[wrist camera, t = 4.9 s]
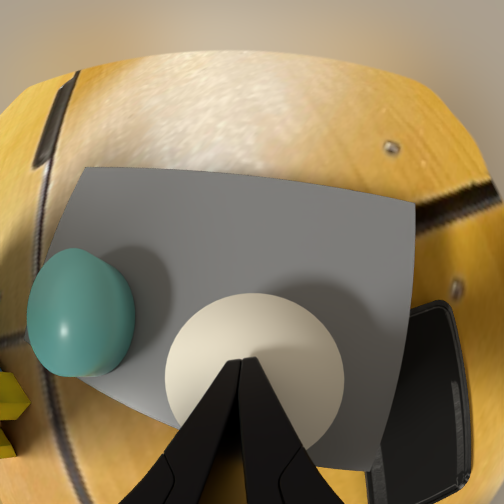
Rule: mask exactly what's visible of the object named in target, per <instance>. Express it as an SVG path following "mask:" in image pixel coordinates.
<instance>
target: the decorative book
mask: <svg viewBox="0 0 504 504" xmlns="http://www.w3.org/2000/svg"><path fill="white" fill-rule="evenodd" d="M30 404H31V402H30V400H29V399H28V397H27V396H26V394H25V393H24V391H23V390H22V388H21V386H20V385H19V383H18V381H17V380H16V378H15V376H14V375H13V373H9V372H2V370H1V368H0V420H17V419H18V417H19V416H20V415H21V414H22V413H23V412H24V411H25V409H26V408H27V407H28V406H29V405H30ZM10 457H17V456H16V454H15V452H14V450H13V448H12V445H11V444H10V442H9V441H8V439H7V438H6V436H5V434H4V433H3V431H2V429H1V428H0V459H2V458H10Z"/></svg>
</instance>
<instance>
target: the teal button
mask: <svg viewBox="0 0 504 504" xmlns="http://www.w3.org/2000/svg"><path fill="white" fill-rule="evenodd" d="M134 327H135V306H134V300H133V296H132V293H131V289H130V287H129V285H128V283H127V281H126V279H125V278H124V276H123V275H122V274H121V273H120V272H119V271H118V270H117V269H116V268H115V267H113V266H111V265H110V264H108V263H106V262H104V261H103V260H101V259H99V258H97V257H95V256H94V255H92V254H90V253H89V252H87V251H85V250H82V249H78V248H69V249H65V250H63V251H60V252H58V253H57V254H55V255H54V256H52V257H51V258H50V259H49V260H48V261H47V262H46V263H45V264H44V266H43V267H42V268H41V270H40V271H39V273H38V275H37V277H36V279H35V281H34V283H33V285H32V288H31V291H30V295H29V299H28V306H27V330H28V335H29V339H30V343H31V346H32V348H33V351H34V353H35V355H36V357H37V358H38V360H39V361H40V362H41V364H42V365H43V366H44V367H45V368H46V369H47V370H49V371H50V372H52V373H53V374H56V375H58V376H64V377H98V376H102V375H104V374H107V373H109V372H110V371H112V370H113V369H114V368H115V367H116V366H117V365H118V364H119V363H120V362H121V361H122V359H123V358H124V356H125V355H126V353H127V351H128V349H129V346H130V344H131V341H132V338H133V333H134Z"/></svg>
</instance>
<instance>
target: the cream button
mask: <svg viewBox="0 0 504 504" xmlns="http://www.w3.org/2000/svg"><path fill="white" fill-rule="evenodd" d="M253 356H256V357H257V358H258V360H259V362H260V364H261V366H262V368H263V370H264V372H265V374H266V376H267V378H268V380H269V382H270V384H271V386H272V388H273V389H274V391H275V393H276V395H277V397H278V399H279V401H280V403H281V405H282V407H283V409H284V411H285V412H286V414H287V416H288V418H289V420H290V422H291V424H292V426H293V427H294V429H295V431H296V433H297V435H298V437H299V439H300V440H301V442H302V444H303V447H305V449H306V450H307V449H308V448H309V447H311V446H312V445H313V444H314V443H316V442H317V441H318V440H319V439H320V438H321V437H322V436H323V435H324V434H325V432H326V431H327V430H328V428H329V427H330V425H331V424H332V422H333V421H334V419H335V417H336V415H337V413H338V410H339V407H340V404H341V401H342V396H343V391H344V370H343V364H342V359H341V355H340V353H339V350H338V348H337V345H336V343H335V341H334V339H333V338H332V336H331V334H330V333H329V331H328V330H327V329H326V328H325V326H324V325H323V324H322V323H321V322H320V321H319V320H318V319H317V318H316V317H315V316H314V315H313V314H312V313H310V312H309V311H308V310H306V309H305V308H303V307H301V306H300V305H298V304H296V303H294V302H292V301H290V300H287V299H285V298H282V297H278V296H274V295H269V294H262V293H245V294H237V295H233V296H229V297H225V298H222V299H220V300H217V301H215V302H213V303H211V304H209V305H207V306H205V307H204V308H202V309H201V310H200V311H198V312H197V313H196V314H195V315H193V316H192V317H191V318H190V319H189V320H188V321H187V322H186V323H185V325H184V326H183V327H182V328H181V330H180V331H179V333H178V334H177V336H176V337H175V339H174V342H173V344H172V346H171V348H170V351H169V354H168V357H167V362H166V368H165V387H166V393H167V398H168V402H169V405H170V408H171V410H172V412H173V414H174V416H175V418H176V420H177V422H178V423H179V425H180V426H181V427H182V425H183V424H184V423H185V421H186V420H187V418H188V417H189V415H190V414H191V413H192V411H193V410H194V408H195V407H196V405H197V404H198V403H199V401H200V400H201V398H202V397H203V395H204V394H205V392H206V391H207V389H208V388H209V386H210V385H211V383H212V382H213V381H214V379H215V378H216V376H217V375H218V373H219V372H220V370H221V369H222V367H223V366H224V364H225V363H226V361H228V360H233V359H243V358H247V357H253Z"/></svg>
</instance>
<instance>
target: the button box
mask: <svg viewBox="0 0 504 504" xmlns="http://www.w3.org/2000/svg"><path fill="white" fill-rule="evenodd" d="M69 248H78V249H82V250H85V251H87V252H89V253H90V254H92V255H94V256H95V257H97V258H99V259H101V260H103V261H104V262H106V263H108V264H110V265H111V266H113V267H115V268H116V269H117V270H118V271H119V272H120V273H121V274H122V275H123V276H124V278H125V279H126V281H127V283H128V285H129V287H130V289H131V293H132V296H133V300H134V306H135V327H134V333H133V338H132V341H131V344H130V346H129V349H128V351H127V353H126V355H125V356H124V358H123V359H122V361H121V362H120V363H119V364H118V365H117V366H116V367H115V368H114V369H113V370H112V371H110V372H109V373H107V374H104V375H102V376H98V377H77V378H78V379H80V380H82V381H83V382H85V383H87V384H88V385H90V386H92V387H93V388H95V389H97V390H98V391H100V392H102V393H104V394H105V395H107V396H109V397H111V398H113V399H115V400H116V401H118V402H120V403H122V404H124V405H126V406H128V407H130V408H132V409H134V410H136V411H138V412H140V413H142V414H144V415H147V416H149V417H151V418H153V419H155V420H158V421H160V422H162V423H165V424H167V425H169V426H172V427H174V428H177V429H179V430H180V428H181V426H180V425H179V423H178V422H177V420H176V418H175V416H174V414H173V412H172V410H171V408H170V405H169V402H168V398H167V393H166V387H165V368H166V362H167V357H168V354H169V351H170V348H171V346H172V344H173V342H174V339H175V337H176V336H177V334H178V333H179V331H180V330H181V328H182V327H183V326H184V325H185V323H186V322H187V321H188V320H189V319H190V318H191V317H192V316H193V315H195V314H196V313H197V312H198V311H200V310H201V309H202V308H204V307H205V306H207V305H209V304H211V303H213V302H215V301H217V300H220V299H222V298H225V297H229V296H233V295H237V294H245V293H262V294H269V295H274V296H278V297H282V298H285V299H287V300H290V301H292V302H294V303H296V304H298V305H300V306H301V307H303V308H305V309H306V310H308V311H309V312H310V313H312V314H313V315H314V316H315V317H316V318H317V319H318V320H319V321H320V322H321V323H322V324H323V325H324V326H325V328H326V329H327V330H328V331H329V333H330V334H331V336H332V338H333V339H334V341H335V343H336V345H337V348H338V350H339V353H340V355H341V359H342V364H343V370H344V391H343V396H342V401H341V404H340V407H339V410H338V413H337V415H336V417H335V419H334V421H333V422H332V424H331V425H330V427H329V428H328V430H327V431H326V432H325V434H324V435H323V436H322V437H321V438H320V439H319V440H318V441H317V442H316V443H314V444H313V445H312V446H311V447H309V448H308V449H307V450H306V451H307V453H308V455H309V456H310V458H311V460H312V461H313V463H314V465H315V466H317V467H324V468H333V469H342V470H353V471H368V472H370V470H371V467H372V464H373V462H374V459H375V456H376V454H377V451H378V448H379V445H380V442H381V439H382V436H383V433H384V430H385V427H386V423H387V420H388V416H389V413H390V409H391V406H392V402H393V398H394V394H395V390H396V386H397V382H398V377H399V373H400V368H401V363H402V358H403V353H404V347H405V341H406V335H407V328H408V322H409V314H410V306H411V297H412V286H413V274H414V257H415V203H412V202H407V201H403V200H398V199H394V198H389V197H384V196H379V195H374V194H369V193H364V192H358V191H353V190H347V189H342V188H336V187H330V186H323V185H317V184H311V183H304V182H297V181H290V180H282V179H274V178H266V177H258V176H249V175H239V174H229V173H218V172H205V171H192V170H176V169H156V168H124V167H85V169H84V171H83V173H82V175H81V177H80V179H79V181H78V183H77V185H76V187H75V189H74V191H73V193H72V195H71V197H70V199H69V201H68V204H67V206H66V208H65V210H64V213H63V215H62V217H61V219H60V222H59V224H58V227H57V229H56V232H55V234H54V237H53V239H52V242H51V245H50V247H49V250H48V253H47V256H46V259H45V261H44V264H45V263H46V262H47V261H48V260H49V259H50V258H51V257H52V256H54V255H55V254H57V253H58V252H60V251H63V250H65V249H69ZM44 264H43V266H44ZM24 340H25V341H26V342H27V343H29V344H30V345H31V343H30V339H29V335H28V330H27V326H26V331H25V336H24Z"/></svg>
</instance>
